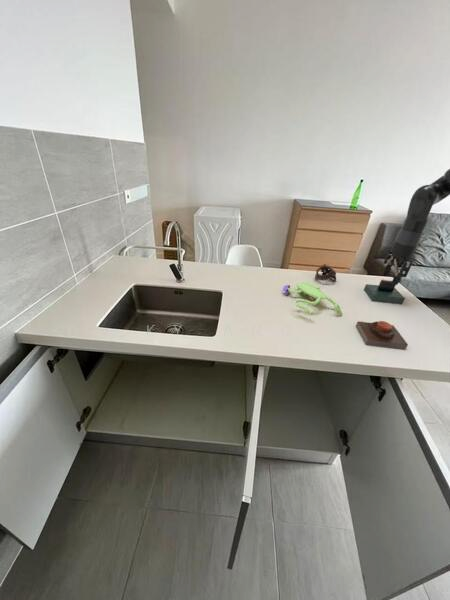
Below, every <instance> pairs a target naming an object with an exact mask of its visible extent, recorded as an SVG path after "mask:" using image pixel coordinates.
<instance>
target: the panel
mask: <svg viewBox="0 0 450 600" xmlns="http://www.w3.org/2000/svg"><path fill="white" fill-rule="evenodd" d="M378 286H379V284H378V285H377V284H369V283H365V286H364V288H363V291H364V292H365V294H366V295H367V296H368V298H369V299H370V301H371V302H375V303H386V304H395V305H403V303H404V301H405V299H406V298H405V296H404V295H402V293H401V292H399V290H398V289H397V288H396V287H395V288H394V290H393V292H384V291H379V290H378Z"/></svg>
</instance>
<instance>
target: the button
mask: <svg viewBox="0 0 450 600" xmlns="http://www.w3.org/2000/svg"><path fill="white" fill-rule="evenodd" d="M377 322H378V324H377V326H376V328H377V329H379V330H380V331H383V332H390V330H391V328H392V326H391V325H392V324H391V323H389V322H387V321H384V320H379V321H377Z"/></svg>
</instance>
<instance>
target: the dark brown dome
mask: <svg viewBox="0 0 450 600" xmlns="http://www.w3.org/2000/svg"><path fill="white" fill-rule="evenodd" d="M320 270H321V271H320ZM319 272H321V274H320V273H319ZM322 272H323V273H322ZM314 279H315V281H316V280H318V281H327V280H329V281H331V279H332V280H333V281H334V283H336V282H337V272H336V270H335V269H334V268H333V267H332V266H330V265H327V264H322V265H321V266H319V267H318V268H317V269H316V271H315V275H314Z"/></svg>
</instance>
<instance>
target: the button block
mask: <svg viewBox="0 0 450 600" xmlns="http://www.w3.org/2000/svg"><path fill="white" fill-rule="evenodd" d="M378 322H379V321H372V322H366V321H358V320H357V322H356V324H355V328H356V330H357V332H358V334H359V336H360V337H361V339H362V341H363V343H364V345H365V346H369V347H370V346H371V347H378V348H379V347H380V348H388V349H394V350H395V349H396V350H403V351H405V350H407V347H408V343H407V341H406V339H404V337H403V336H402V334H401V333H400V331H398V329H397V328H396V327H395V326H394V325H393V324H390V325H391V326H392V328H391V330H390V332H383V331H380V330H379V329H377V328H376V326H377V324H378Z"/></svg>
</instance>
